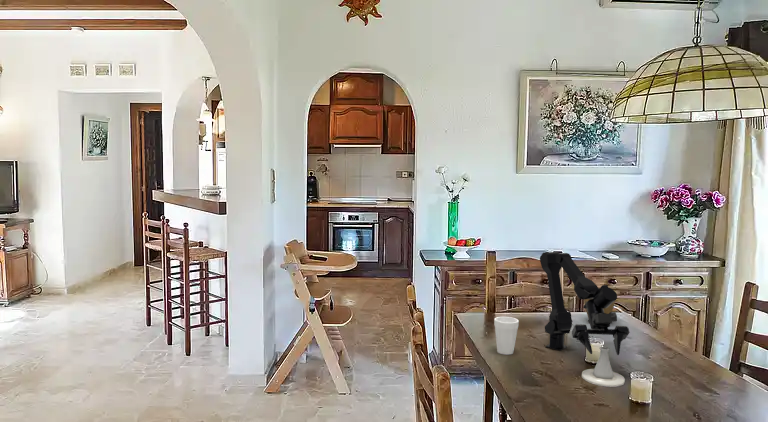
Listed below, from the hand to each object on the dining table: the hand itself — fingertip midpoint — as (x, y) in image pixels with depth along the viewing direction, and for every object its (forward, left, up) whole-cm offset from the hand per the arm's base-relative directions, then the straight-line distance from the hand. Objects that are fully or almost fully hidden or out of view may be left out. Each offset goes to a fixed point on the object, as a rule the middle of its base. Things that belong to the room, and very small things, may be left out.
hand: (604, 354), depth 198 cm
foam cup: (0, -39, -9) cm, 40 cm away
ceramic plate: (0, 0, -9) cm, 9 cm away
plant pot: (-67, -29, -9) cm, 74 cm away
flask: (-1, -1, -8) cm, 8 cm away
